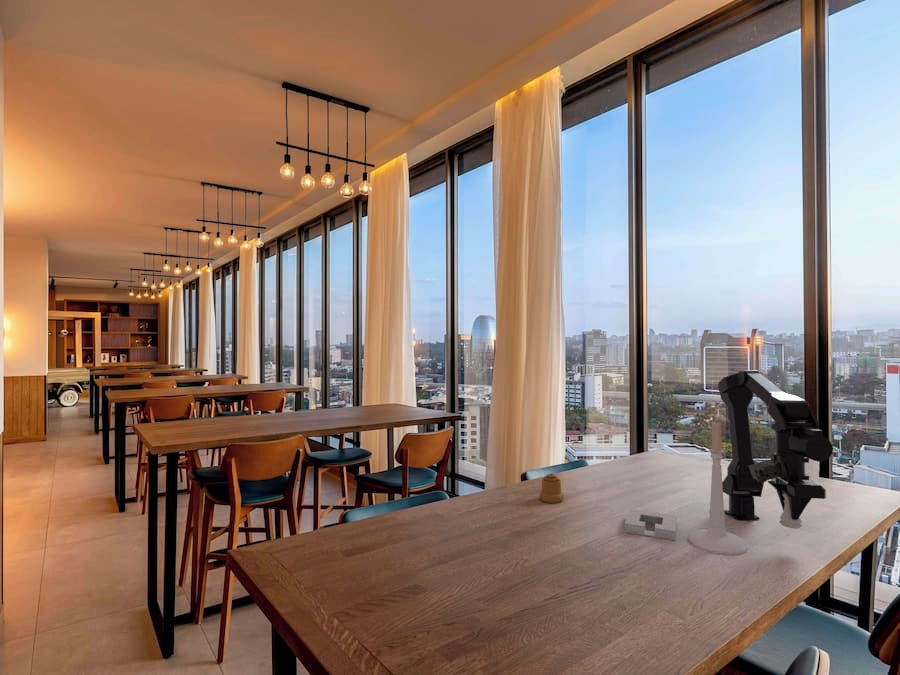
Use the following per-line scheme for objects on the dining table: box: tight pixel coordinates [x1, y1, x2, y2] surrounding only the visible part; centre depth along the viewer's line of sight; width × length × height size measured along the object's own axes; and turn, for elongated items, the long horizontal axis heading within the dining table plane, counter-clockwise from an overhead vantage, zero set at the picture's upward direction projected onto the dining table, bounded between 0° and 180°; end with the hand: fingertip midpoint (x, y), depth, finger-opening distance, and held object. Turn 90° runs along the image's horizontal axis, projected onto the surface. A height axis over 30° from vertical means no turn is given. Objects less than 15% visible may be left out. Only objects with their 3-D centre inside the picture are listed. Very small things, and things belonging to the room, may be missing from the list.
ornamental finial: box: [539, 473, 565, 504], centre depth 153 cm, size 8×8×8 cm
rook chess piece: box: [779, 493, 803, 529], centre depth 117 cm, size 4×4×8 cm
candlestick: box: [687, 421, 749, 556], centre depth 120 cm, size 13×13×30 cm
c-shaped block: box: [624, 508, 678, 541], centre depth 130 cm, size 12×12×2 cm
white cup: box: [803, 459, 821, 484], centre depth 170 cm, size 8×8×10 cm
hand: (790, 516), depth 117 cm, fingers closed on rook chess piece, 3 cm apart
